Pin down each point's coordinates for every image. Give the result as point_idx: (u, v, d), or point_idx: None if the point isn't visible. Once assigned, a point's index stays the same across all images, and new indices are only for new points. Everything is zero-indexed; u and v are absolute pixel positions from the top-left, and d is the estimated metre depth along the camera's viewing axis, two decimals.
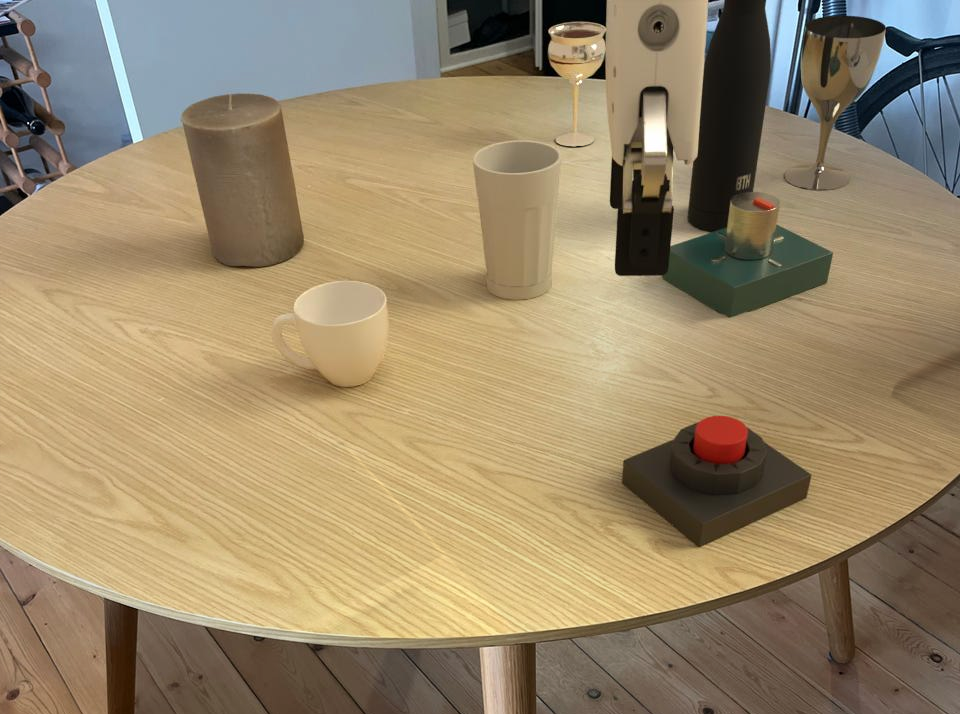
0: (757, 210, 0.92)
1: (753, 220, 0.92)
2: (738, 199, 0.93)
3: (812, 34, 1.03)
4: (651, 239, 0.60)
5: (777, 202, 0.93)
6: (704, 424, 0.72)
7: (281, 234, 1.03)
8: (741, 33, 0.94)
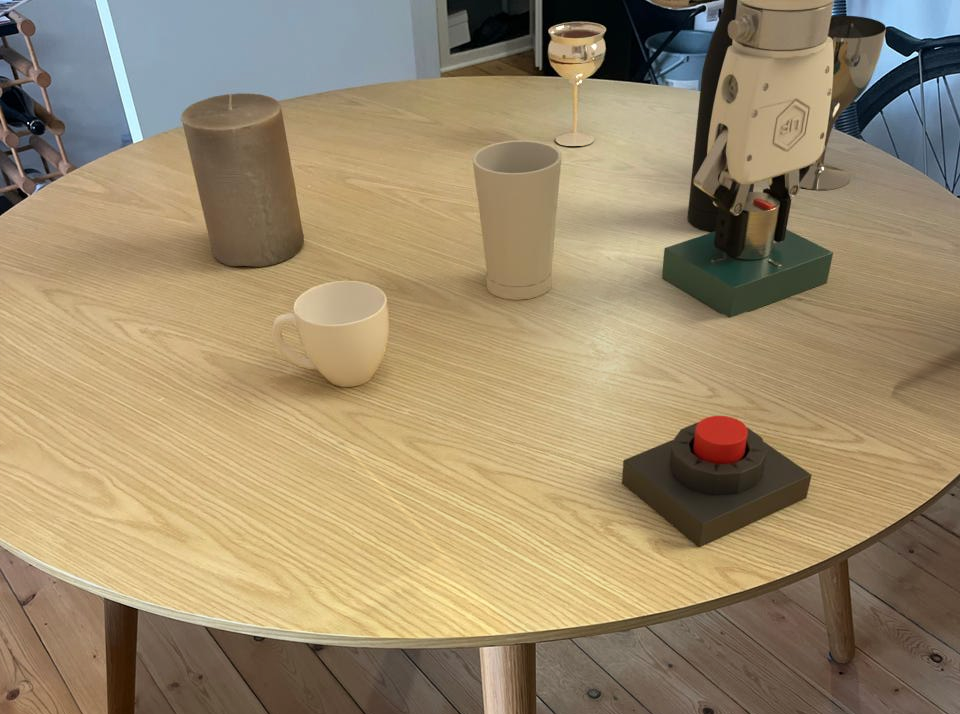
0: (757, 210, 0.92)
1: (753, 220, 0.92)
2: None
3: None
4: (725, 228, 0.93)
5: (777, 202, 0.93)
6: (704, 424, 0.72)
7: (281, 234, 1.03)
8: None
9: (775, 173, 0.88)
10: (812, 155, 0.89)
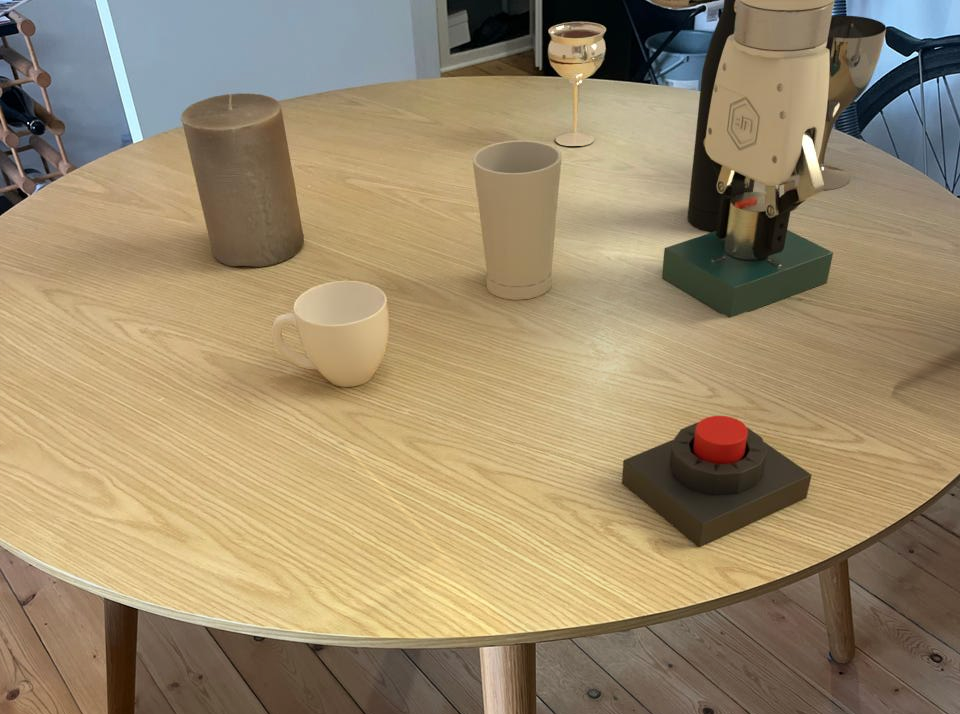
0: (732, 201, 0.93)
1: (729, 209, 0.94)
2: (760, 194, 0.94)
3: None
4: None
5: (753, 210, 0.92)
6: (704, 424, 0.72)
7: (281, 234, 1.03)
8: None
9: (730, 165, 0.90)
10: (764, 173, 0.87)
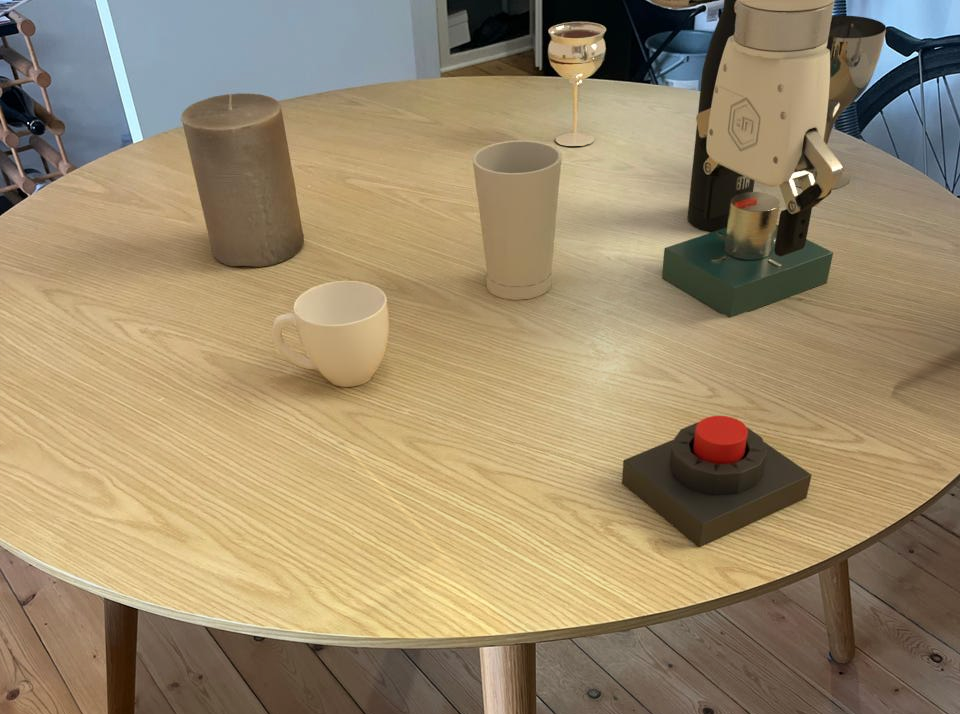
0: (732, 201, 0.93)
1: (729, 209, 0.94)
2: (760, 194, 0.94)
3: None
4: None
5: (753, 210, 0.92)
6: (704, 424, 0.72)
7: (281, 234, 1.03)
8: None
9: (731, 166, 0.90)
10: (765, 174, 0.87)
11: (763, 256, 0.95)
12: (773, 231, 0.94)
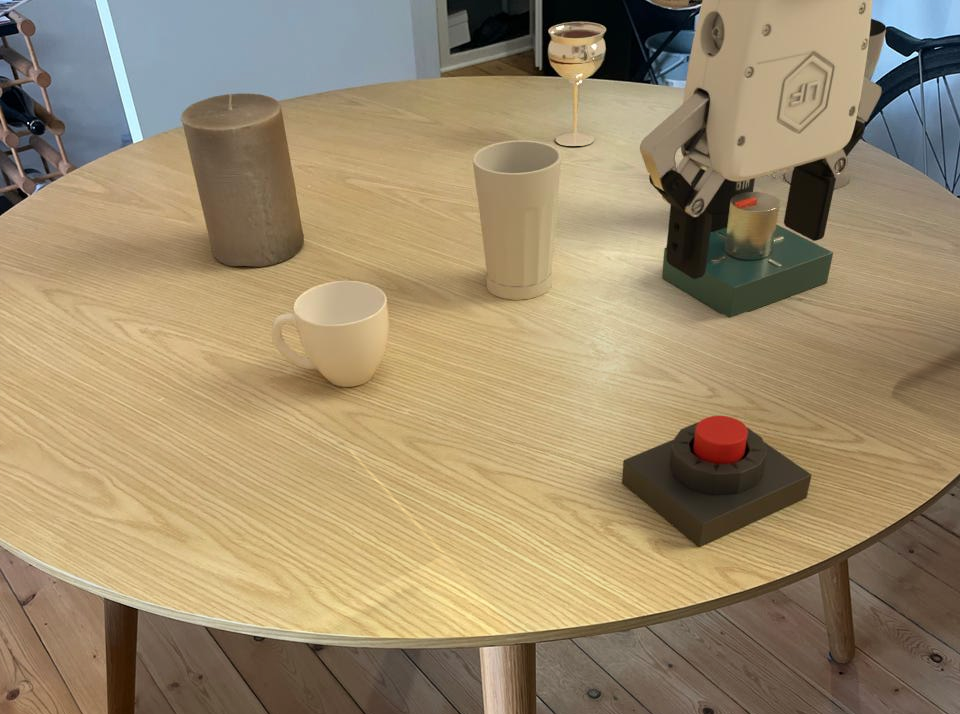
0: (732, 201, 0.93)
1: (729, 209, 0.94)
2: (760, 194, 0.94)
3: None
4: (680, 236, 0.62)
5: (753, 210, 0.92)
6: (704, 424, 0.72)
7: (281, 234, 1.03)
8: None
9: (781, 165, 0.59)
10: (837, 140, 0.60)
11: (763, 256, 0.95)
12: (773, 231, 0.94)
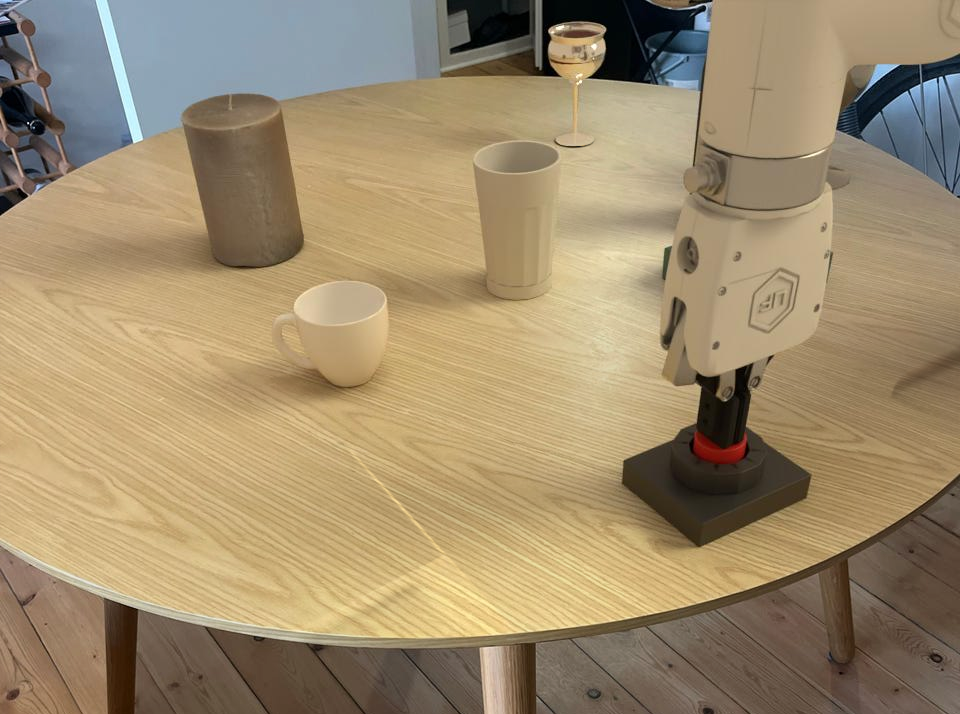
0: None
1: None
2: None
3: None
4: (710, 414, 0.69)
5: None
6: None
7: (281, 234, 1.03)
8: None
9: (752, 360, 0.65)
10: (803, 333, 0.66)
11: None
12: None
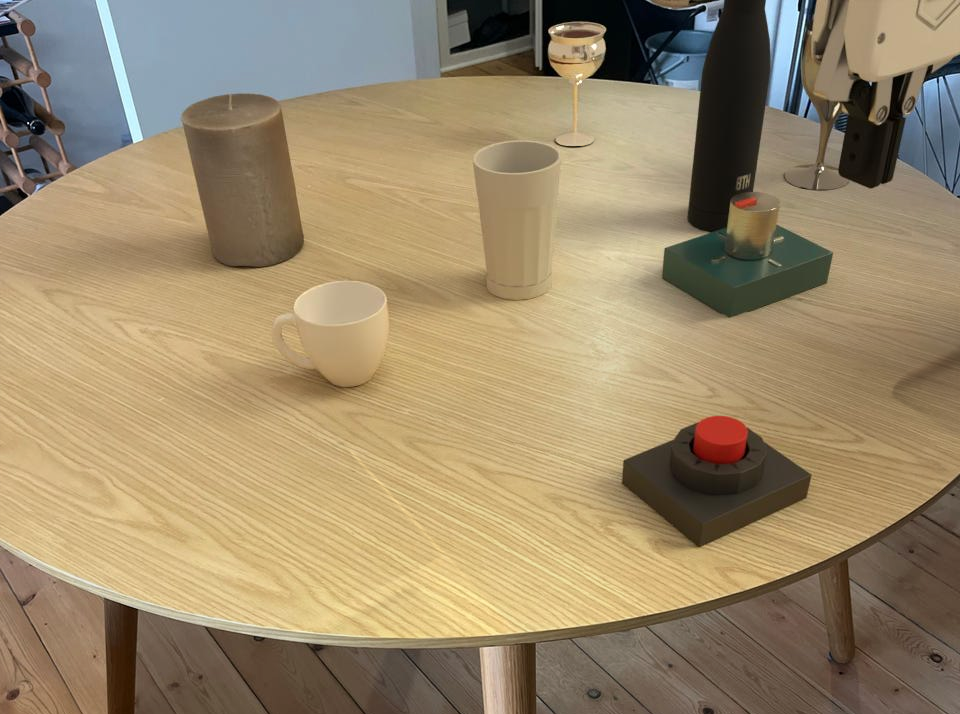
0: (732, 201, 0.93)
1: (729, 209, 0.94)
2: (760, 194, 0.94)
3: None
4: (859, 146, 0.64)
5: (753, 210, 0.92)
6: (704, 424, 0.72)
7: (281, 234, 1.03)
8: (740, 33, 0.94)
9: (915, 64, 0.59)
10: None
11: (763, 256, 0.95)
12: (773, 231, 0.94)
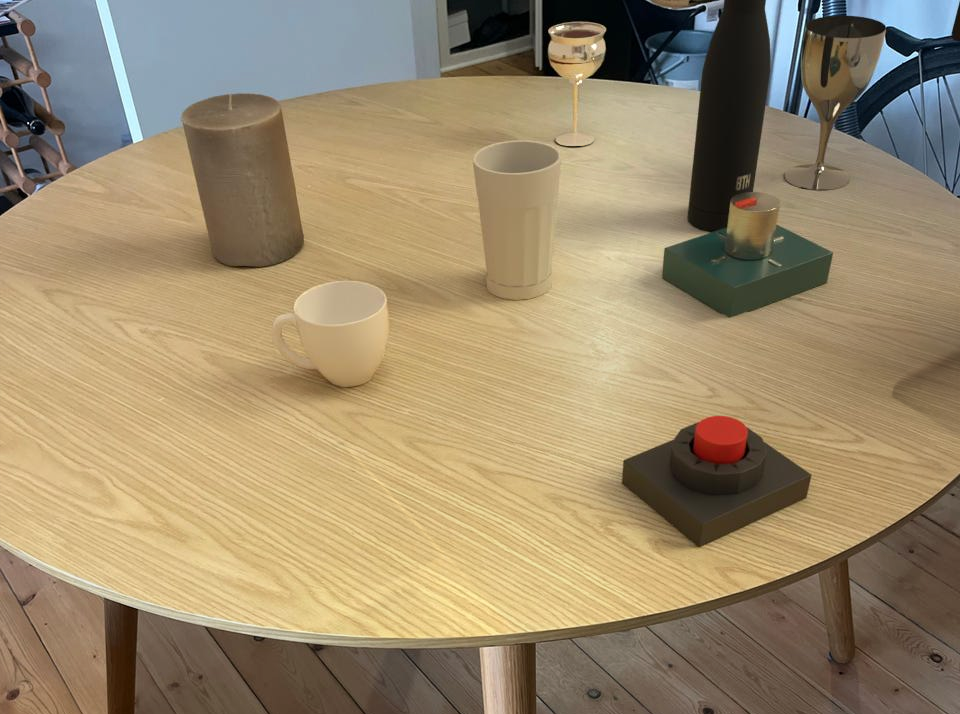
0: (732, 201, 0.93)
1: (729, 209, 0.94)
2: (760, 194, 0.94)
3: (812, 34, 1.03)
4: None
5: (753, 210, 0.92)
6: (704, 424, 0.72)
7: (281, 234, 1.03)
8: (740, 33, 0.94)
9: None
10: None
11: (763, 256, 0.95)
12: (773, 231, 0.94)
